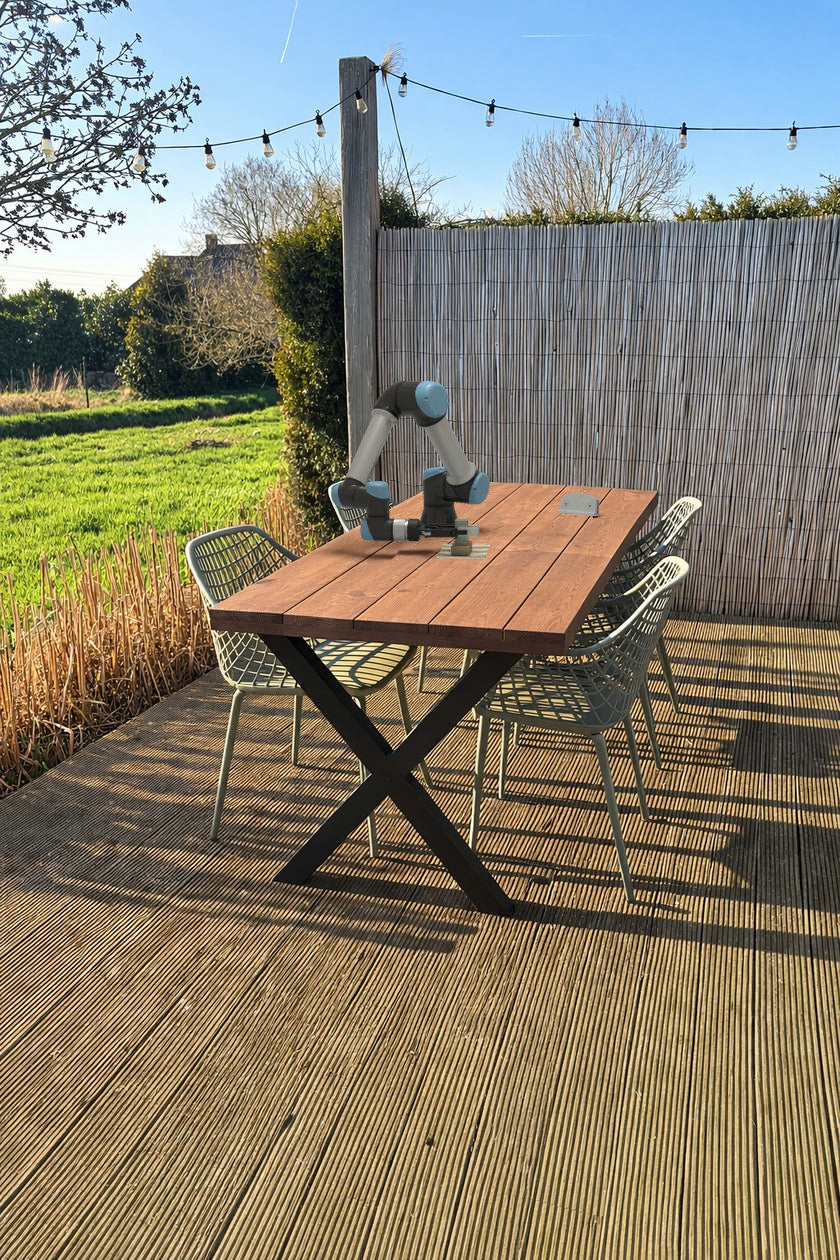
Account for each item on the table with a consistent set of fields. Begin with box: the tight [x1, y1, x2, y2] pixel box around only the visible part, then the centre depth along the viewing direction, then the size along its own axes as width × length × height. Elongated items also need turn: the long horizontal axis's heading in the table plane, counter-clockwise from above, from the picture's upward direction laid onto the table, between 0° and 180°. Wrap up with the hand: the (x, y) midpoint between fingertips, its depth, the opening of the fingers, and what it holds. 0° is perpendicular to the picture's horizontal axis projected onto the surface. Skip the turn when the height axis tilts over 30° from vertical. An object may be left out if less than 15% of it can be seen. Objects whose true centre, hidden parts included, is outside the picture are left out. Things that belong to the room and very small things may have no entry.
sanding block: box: [451, 518, 473, 555], centre depth 320 cm, size 10×6×11 cm, turn 172°
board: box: [435, 543, 491, 560], centre depth 324 cm, size 22×16×2 cm
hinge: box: [556, 492, 600, 517], centre depth 392 cm, size 17×5×10 cm, turn 56°
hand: (478, 530), depth 319 cm, fingers closed on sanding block, 4 cm apart
